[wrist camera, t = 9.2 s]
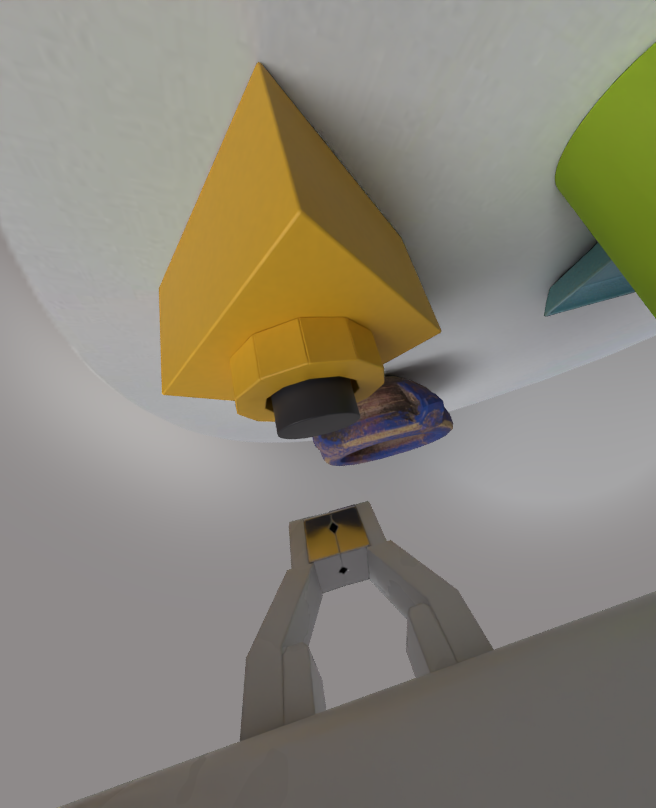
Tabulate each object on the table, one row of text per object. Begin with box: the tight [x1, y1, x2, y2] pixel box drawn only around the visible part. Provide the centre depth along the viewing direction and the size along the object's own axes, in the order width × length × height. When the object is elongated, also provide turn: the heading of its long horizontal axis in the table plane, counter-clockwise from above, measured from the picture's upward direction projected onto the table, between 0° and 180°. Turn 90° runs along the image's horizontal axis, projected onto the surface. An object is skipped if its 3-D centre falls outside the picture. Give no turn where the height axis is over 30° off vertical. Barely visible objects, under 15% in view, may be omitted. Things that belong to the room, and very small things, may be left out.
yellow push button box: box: [159, 62, 441, 422], centre depth 12 cm, size 10×9×8 cm
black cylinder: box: [271, 376, 360, 439], centre depth 11 cm, size 4×4×2 cm
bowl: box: [313, 376, 453, 466], centre depth 35 cm, size 18×18×10 cm
